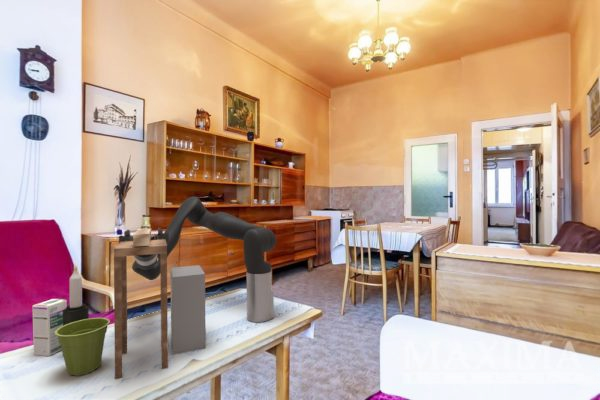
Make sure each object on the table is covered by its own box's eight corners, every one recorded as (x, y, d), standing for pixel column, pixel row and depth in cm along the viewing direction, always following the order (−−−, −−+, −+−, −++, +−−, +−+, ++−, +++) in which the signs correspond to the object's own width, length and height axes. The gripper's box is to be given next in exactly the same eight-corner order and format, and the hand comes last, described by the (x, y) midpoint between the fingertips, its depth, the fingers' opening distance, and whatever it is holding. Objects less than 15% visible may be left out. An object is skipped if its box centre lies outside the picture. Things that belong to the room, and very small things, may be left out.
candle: (90, 349, 92) (90, 265, 92) (72, 357, 87) (71, 268, 87) (80, 346, 94) (79, 263, 94) (61, 354, 89) (60, 267, 89)
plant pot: (96, 353, 89) (95, 314, 89) (119, 364, 83) (119, 322, 83) (46, 373, 79) (45, 329, 79) (68, 387, 73) (68, 339, 73)
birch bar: (151, 237, 101) (150, 228, 102) (149, 245, 80) (148, 233, 80) (138, 238, 100) (138, 228, 100) (133, 246, 78) (133, 234, 78)
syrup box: (49, 356, 88) (48, 305, 88) (32, 354, 89) (32, 304, 89) (68, 347, 93) (67, 299, 93) (52, 345, 95) (51, 298, 95)
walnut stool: (166, 343, 95) (165, 239, 95) (167, 367, 81) (166, 245, 81) (121, 352, 90) (120, 241, 90) (114, 379, 76) (113, 248, 76)
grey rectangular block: (199, 330, 105) (199, 265, 105) (205, 348, 92) (205, 273, 92) (171, 335, 101) (170, 267, 101) (172, 354, 88) (172, 277, 88)
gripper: (122, 243, 106) (117, 221, 94) (167, 240, 112) (168, 219, 100) (121, 263, 103) (116, 244, 90) (168, 260, 109) (169, 241, 96)
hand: (143, 231), depth 95 cm, fingers open, 8 cm apart
